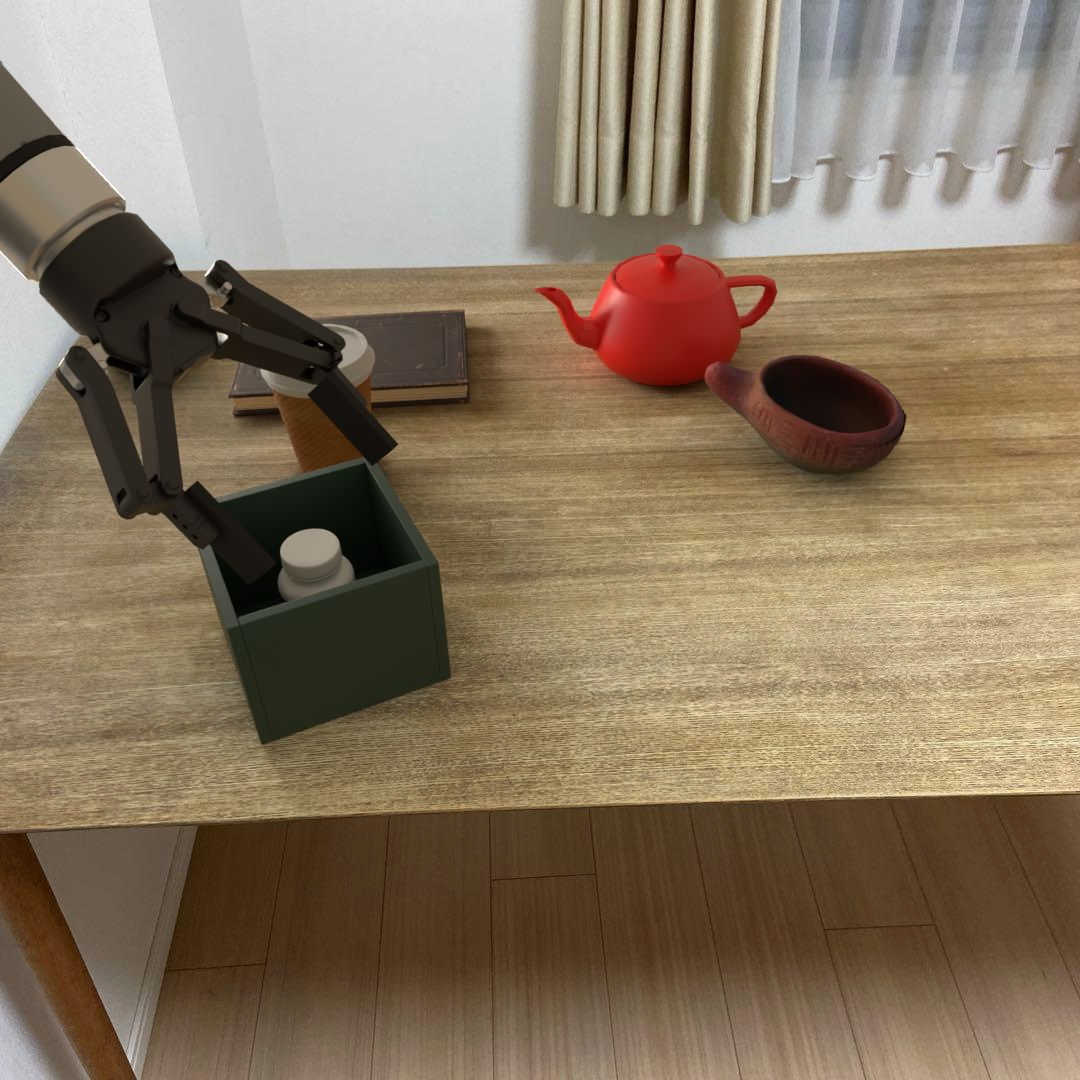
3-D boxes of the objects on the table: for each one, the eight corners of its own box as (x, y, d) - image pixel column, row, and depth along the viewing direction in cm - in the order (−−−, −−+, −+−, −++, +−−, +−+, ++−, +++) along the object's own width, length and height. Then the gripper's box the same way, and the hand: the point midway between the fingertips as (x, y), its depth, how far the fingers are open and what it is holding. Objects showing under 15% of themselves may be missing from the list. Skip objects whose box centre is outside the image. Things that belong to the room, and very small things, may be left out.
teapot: (743, 314, 113) (755, 207, 105) (796, 385, 101) (815, 270, 94) (522, 339, 110) (518, 230, 102) (551, 415, 98) (549, 299, 90)
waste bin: (261, 745, 68) (226, 629, 61) (219, 617, 77) (184, 505, 70) (451, 677, 72) (438, 562, 65) (389, 565, 82) (372, 454, 75)
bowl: (854, 410, 98) (870, 335, 93) (917, 488, 88) (938, 409, 83) (693, 430, 96) (700, 355, 91) (739, 512, 86) (750, 433, 81)
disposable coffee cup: (377, 428, 97) (361, 313, 89) (399, 484, 90) (383, 365, 82) (277, 447, 95) (251, 331, 87) (290, 507, 88) (264, 386, 80)
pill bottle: (294, 615, 76) (274, 523, 70) (365, 610, 76) (350, 518, 71) (288, 668, 72) (266, 575, 66) (363, 662, 72) (347, 570, 67)
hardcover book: (469, 402, 100) (467, 382, 99) (233, 415, 99) (228, 395, 98) (465, 325, 113) (464, 306, 111) (255, 336, 111) (251, 317, 110)
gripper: (197, 210, 72) (399, 436, 77) (-111, 374, 55) (173, 654, 59) (242, 144, 67) (456, 391, 71) (-82, 302, 50) (227, 614, 54)
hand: (328, 511), depth 65 cm, fingers open, 13 cm apart
